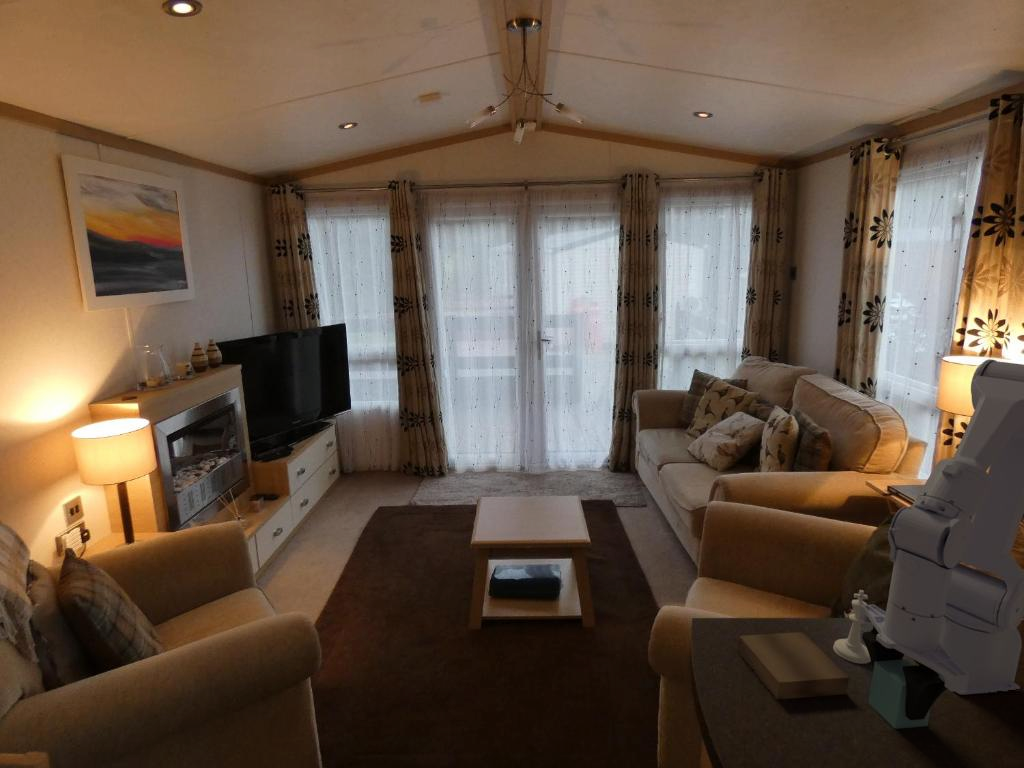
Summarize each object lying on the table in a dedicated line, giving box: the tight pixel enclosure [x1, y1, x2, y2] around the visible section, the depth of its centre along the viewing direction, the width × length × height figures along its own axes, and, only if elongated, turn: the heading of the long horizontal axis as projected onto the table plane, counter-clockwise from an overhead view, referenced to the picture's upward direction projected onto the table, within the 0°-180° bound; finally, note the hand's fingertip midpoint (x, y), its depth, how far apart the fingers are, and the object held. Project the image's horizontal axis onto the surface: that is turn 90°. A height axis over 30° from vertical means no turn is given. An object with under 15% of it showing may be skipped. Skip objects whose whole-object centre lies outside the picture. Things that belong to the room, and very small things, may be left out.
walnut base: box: [737, 631, 850, 700], centre depth 82 cm, size 10×10×2 cm
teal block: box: [867, 658, 932, 730], centre depth 74 cm, size 4×4×6 cm
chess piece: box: [833, 589, 871, 665], centre depth 86 cm, size 5×5×10 cm
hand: (898, 702), depth 75 cm, fingers closed on teal block, 4 cm apart
